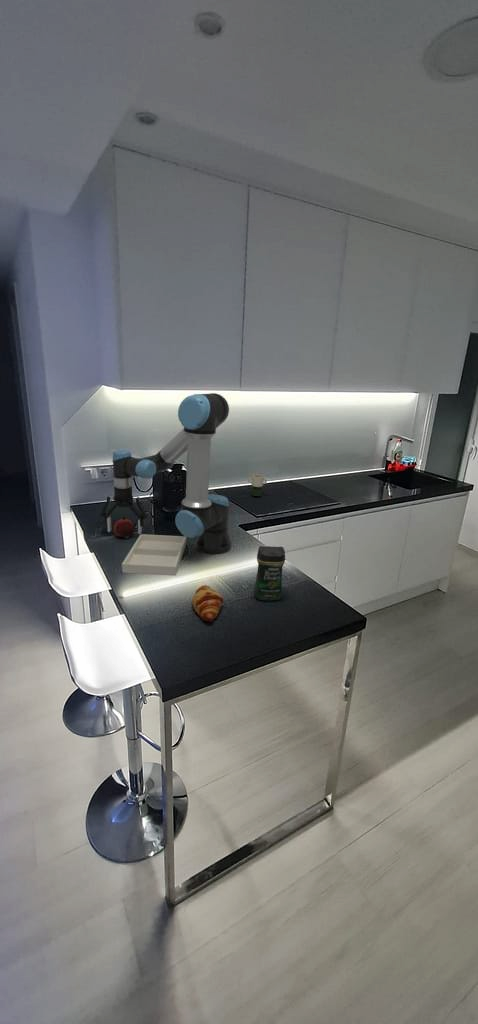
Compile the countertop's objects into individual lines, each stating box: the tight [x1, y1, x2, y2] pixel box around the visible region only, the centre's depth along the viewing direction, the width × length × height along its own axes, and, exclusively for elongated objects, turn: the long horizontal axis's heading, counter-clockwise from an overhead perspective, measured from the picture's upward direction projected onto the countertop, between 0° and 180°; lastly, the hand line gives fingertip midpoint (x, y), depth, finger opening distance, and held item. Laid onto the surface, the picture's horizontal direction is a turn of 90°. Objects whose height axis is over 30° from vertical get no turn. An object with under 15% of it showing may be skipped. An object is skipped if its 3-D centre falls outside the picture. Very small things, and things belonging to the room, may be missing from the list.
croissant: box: [191, 584, 224, 622], centre depth 139 cm, size 21×10×8 cm, turn 9°
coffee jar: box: [253, 545, 286, 602], centre depth 145 cm, size 10×8×19 cm
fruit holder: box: [121, 533, 187, 576], centre depth 172 cm, size 20×29×4 cm
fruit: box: [112, 514, 135, 539], centre depth 189 cm, size 9×10×10 cm
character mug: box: [247, 473, 268, 497], centre depth 255 cm, size 11×7×13 cm, turn 92°
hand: (124, 531), depth 190 cm, fingers open, 13 cm apart
